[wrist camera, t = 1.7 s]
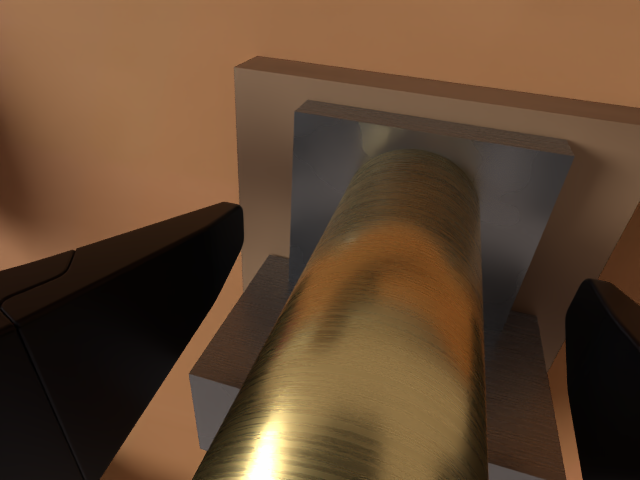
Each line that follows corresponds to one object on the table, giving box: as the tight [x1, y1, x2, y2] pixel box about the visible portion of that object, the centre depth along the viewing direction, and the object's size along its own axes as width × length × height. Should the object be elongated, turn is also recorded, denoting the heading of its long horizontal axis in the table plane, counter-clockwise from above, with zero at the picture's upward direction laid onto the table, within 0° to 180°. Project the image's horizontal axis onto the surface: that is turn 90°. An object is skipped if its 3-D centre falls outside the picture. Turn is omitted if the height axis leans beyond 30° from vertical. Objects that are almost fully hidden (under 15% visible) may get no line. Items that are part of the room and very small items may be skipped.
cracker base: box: [234, 56, 640, 372], centre depth 15 cm, size 23×10×6 cm, turn 175°
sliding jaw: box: [189, 100, 575, 480], centre depth 9 cm, size 8×8×9 cm
